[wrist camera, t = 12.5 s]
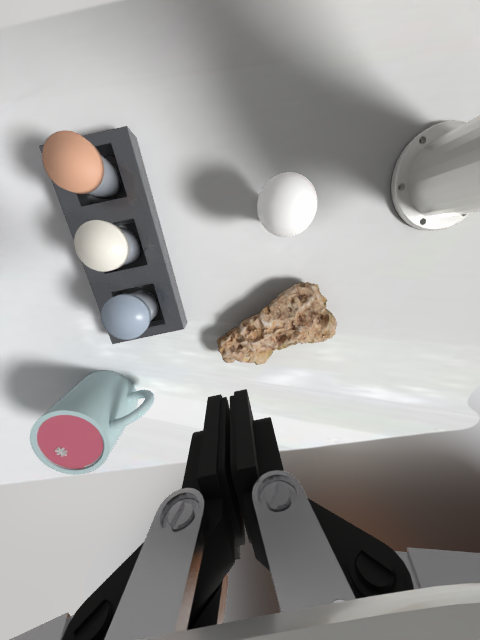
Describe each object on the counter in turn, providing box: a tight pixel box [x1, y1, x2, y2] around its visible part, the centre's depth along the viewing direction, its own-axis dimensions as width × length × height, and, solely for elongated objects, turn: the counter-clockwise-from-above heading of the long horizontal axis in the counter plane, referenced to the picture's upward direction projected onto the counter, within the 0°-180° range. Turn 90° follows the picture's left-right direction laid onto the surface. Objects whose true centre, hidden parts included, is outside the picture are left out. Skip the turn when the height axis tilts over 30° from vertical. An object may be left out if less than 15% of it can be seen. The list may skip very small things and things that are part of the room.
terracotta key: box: [42, 131, 120, 199], centre depth 28 cm, size 5×5×6 cm
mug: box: [30, 370, 154, 474], centre depth 35 cm, size 14×9×10 cm
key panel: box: [39, 126, 187, 344], centre depth 33 cm, size 10×24×3 cm, turn 12°
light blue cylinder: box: [101, 290, 159, 340], centre depth 32 cm, size 5×5×6 cm
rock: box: [217, 282, 337, 365], centre depth 37 cm, size 17×5×10 cm
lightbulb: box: [257, 172, 317, 237], centre depth 29 cm, size 6×6×11 cm
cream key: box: [74, 220, 141, 272], centre depth 30 cm, size 5×5×6 cm
